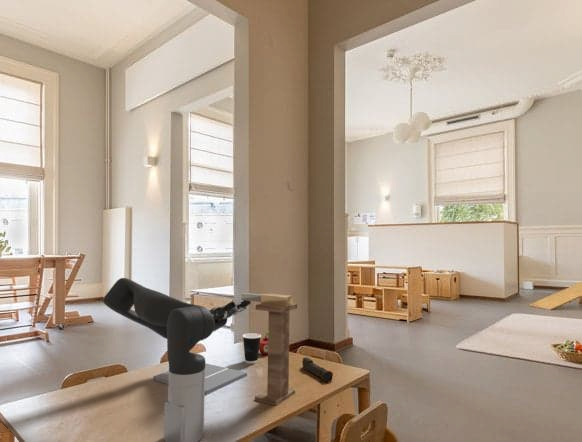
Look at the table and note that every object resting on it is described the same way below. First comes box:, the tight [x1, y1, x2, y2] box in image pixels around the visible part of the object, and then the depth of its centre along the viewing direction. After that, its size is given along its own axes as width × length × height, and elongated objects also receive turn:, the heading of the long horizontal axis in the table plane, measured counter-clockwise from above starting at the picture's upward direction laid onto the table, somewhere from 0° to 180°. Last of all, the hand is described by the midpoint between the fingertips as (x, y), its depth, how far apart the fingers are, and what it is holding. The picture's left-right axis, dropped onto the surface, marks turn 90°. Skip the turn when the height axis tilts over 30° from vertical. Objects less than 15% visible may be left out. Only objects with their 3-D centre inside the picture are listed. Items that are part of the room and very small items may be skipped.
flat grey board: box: [152, 362, 248, 396], centre depth 147 cm, size 22×26×1 cm
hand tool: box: [302, 356, 334, 383], centre depth 152 cm, size 19×4×5 cm, turn 26°
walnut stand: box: [254, 302, 298, 406], centre depth 130 cm, size 12×10×30 cm
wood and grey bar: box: [240, 292, 294, 307], centre depth 134 cm, size 4×19×3 cm, turn 59°
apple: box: [259, 330, 268, 355], centre depth 179 cm, size 8×7×10 cm
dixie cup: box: [242, 332, 262, 364], centre depth 167 cm, size 8×8×11 cm
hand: (242, 302), depth 139 cm, fingers open, 8 cm apart
